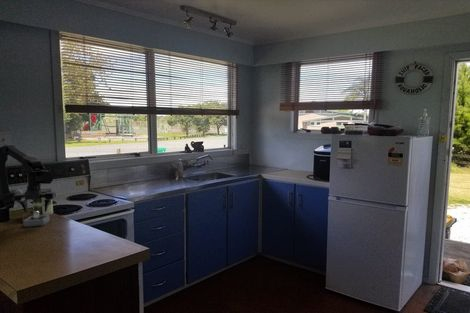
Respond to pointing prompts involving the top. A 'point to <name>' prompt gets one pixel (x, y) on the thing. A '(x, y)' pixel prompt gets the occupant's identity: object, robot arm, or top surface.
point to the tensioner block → (28, 215)
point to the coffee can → (43, 204)
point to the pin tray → (36, 221)
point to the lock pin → (36, 215)
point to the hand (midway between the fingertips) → (36, 212)
